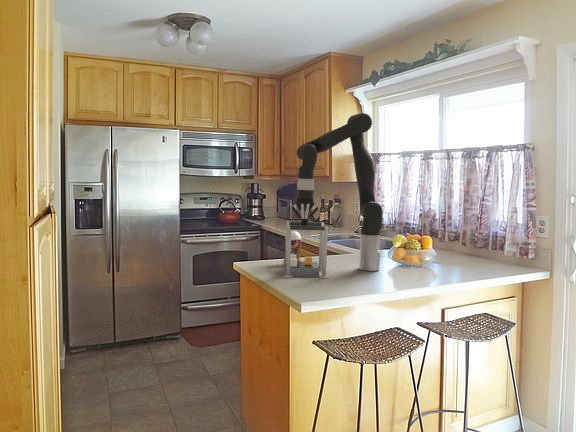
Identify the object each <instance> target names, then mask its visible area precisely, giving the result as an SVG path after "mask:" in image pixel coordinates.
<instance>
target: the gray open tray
mask: <svg viewBox="0 0 576 432" xmlns="http://www.w3.org/2000/svg"><path fill="white" fill-rule="evenodd" d="M282 259H283V260H282V275H286V257H283V258H282ZM290 275H292V277H297V278H298V277H301V278H302V277H303V278H305V277H306V278H319V276H320V271H319V263H318V262H317V261H312V265H307V264H305V261H297V266H290Z"/></svg>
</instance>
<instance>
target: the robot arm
mask: <svg viewBox="0 0 576 432" xmlns="http://www.w3.org/2000/svg"><path fill="white" fill-rule="evenodd" d="M372 125H373V119H372V117H371V115H370V114H368V113H367V112H366V113H365V112H360V113H357V114H353V115H350V117H349V118H348V119H347V121H346V123H345V124H344V125H342V126H340V127H337V128H336V129H335V128H334V129H333V130H330V131H328V132H326V133H324V134H322V135H320V136H318V137H317V138H315V139H313V140H310V141H307V142H305V143H303V144H301V145H299V147H298V148H297V149H296V157H297V158H298V159H299V160H301V161H302V162H301V163H302V164H301V165H300V166H299V167H298V174H297V175H298V177H297V178H298V179H297V184H296V189H297V190H296V200H295V201H296V202H295V203H294V204H293V205H292V206H291V210H292V211H293V212H294V214H295V215H296V216H297V218H300V220H301V221H300V222H301V225H302V226H307V224H308V222H309V221H308V220H309V219H310V218H312V217H313V216H314V215H315V214H316V212H318V210H319V207H318V206H317V205H316V204H315V202H314V199H315V198H314V193H315V181H314V180H315V179H314V178H315V168H316V164H317V160H318V154H321V153H324V152H327V151H328V150H330V149H332V148H334V147H335V146H337V145H340V143H342V142H344V141H346V140H347V139H349V140H350V144H351V149H352V157H353V164H354V165H353V166H354V171H355V176H356V177H355V178H356V183H357V188H358V194H359V197H358V199H359V213H360V215H361V217H362V218H363V219H362V226H361V228H360V237H359V238H360V242H359V259H358V260H359V261H358V269H359V270H361V271H367V272H375V271H380V261H381V259H380V258H381V251H380V238H381V237H380V236H381V230H382V224H383V208H382V206H381V204H379V202H376V197H375V192H374V188H375V187H374V186H375V178H376V177H375V176H376V170H375V163H374V158H373V156H372V154H371V152H370V151H369V149H368V147H367V145H366V142H365V137H364V136H365V135H364V133H367V132H368V131H369V130H370V129H371V127H372ZM297 209H299V211H300V213H299V212H298V210H297ZM311 209H312V211H311ZM310 211H311V212H310ZM309 212H310V213H309Z"/></svg>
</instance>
